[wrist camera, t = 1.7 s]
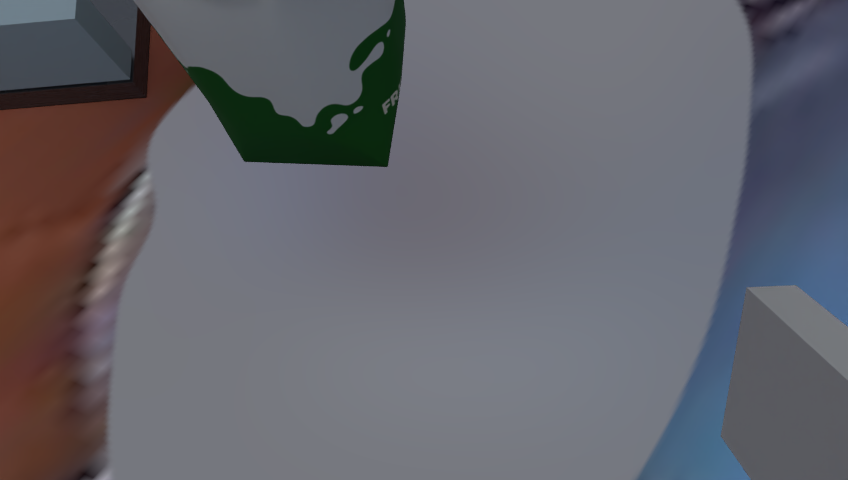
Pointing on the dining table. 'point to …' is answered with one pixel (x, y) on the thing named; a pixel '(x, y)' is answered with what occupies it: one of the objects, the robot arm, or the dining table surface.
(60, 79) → the block
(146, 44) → the vise base
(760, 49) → the dining table surface
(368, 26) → the soya milk
